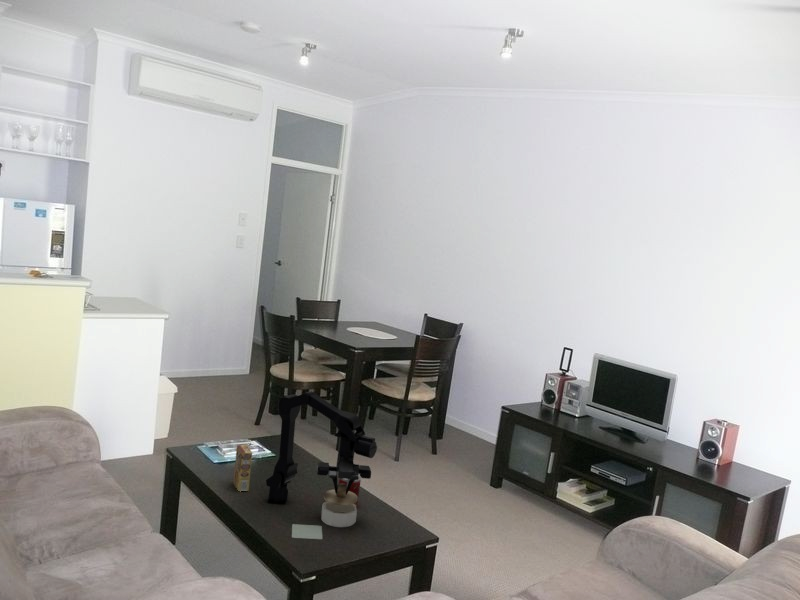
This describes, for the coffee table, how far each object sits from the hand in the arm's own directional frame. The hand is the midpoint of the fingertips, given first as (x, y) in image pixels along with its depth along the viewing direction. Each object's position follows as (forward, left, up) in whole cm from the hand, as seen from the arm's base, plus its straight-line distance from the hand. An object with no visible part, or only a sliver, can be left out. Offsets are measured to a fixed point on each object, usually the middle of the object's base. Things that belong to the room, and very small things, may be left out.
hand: (341, 493), depth 240 cm
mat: (-11, -11, -10) cm, 18 cm away
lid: (0, 0, -2) cm, 2 cm away
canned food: (+4, +14, -10) cm, 18 cm away
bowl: (0, 0, -10) cm, 10 cm away
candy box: (-36, +24, -10) cm, 44 cm away
